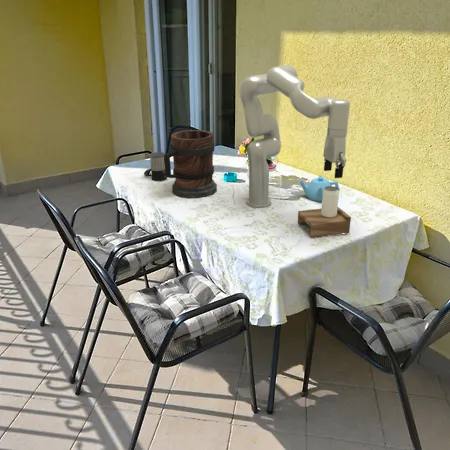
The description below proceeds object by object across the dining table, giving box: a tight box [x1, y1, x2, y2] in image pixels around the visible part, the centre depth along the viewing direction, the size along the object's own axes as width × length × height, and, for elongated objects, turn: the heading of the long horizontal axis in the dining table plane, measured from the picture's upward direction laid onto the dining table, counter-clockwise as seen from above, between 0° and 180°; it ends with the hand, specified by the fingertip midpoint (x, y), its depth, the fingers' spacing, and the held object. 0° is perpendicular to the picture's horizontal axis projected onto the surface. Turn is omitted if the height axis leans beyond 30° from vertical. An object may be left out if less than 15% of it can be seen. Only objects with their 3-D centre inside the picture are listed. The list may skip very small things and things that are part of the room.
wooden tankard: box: [164, 129, 218, 200], centre depth 222 cm, size 24×30×30 cm
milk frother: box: [143, 151, 168, 182], centre depth 248 cm, size 14×16×15 cm
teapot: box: [299, 175, 341, 202], centre depth 216 cm, size 15×15×11 cm
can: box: [321, 185, 340, 218], centre depth 180 cm, size 6×6×12 cm
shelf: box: [297, 206, 352, 239], centre depth 183 cm, size 15×17×8 cm
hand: (332, 174), depth 175 cm, fingers open, 9 cm apart
